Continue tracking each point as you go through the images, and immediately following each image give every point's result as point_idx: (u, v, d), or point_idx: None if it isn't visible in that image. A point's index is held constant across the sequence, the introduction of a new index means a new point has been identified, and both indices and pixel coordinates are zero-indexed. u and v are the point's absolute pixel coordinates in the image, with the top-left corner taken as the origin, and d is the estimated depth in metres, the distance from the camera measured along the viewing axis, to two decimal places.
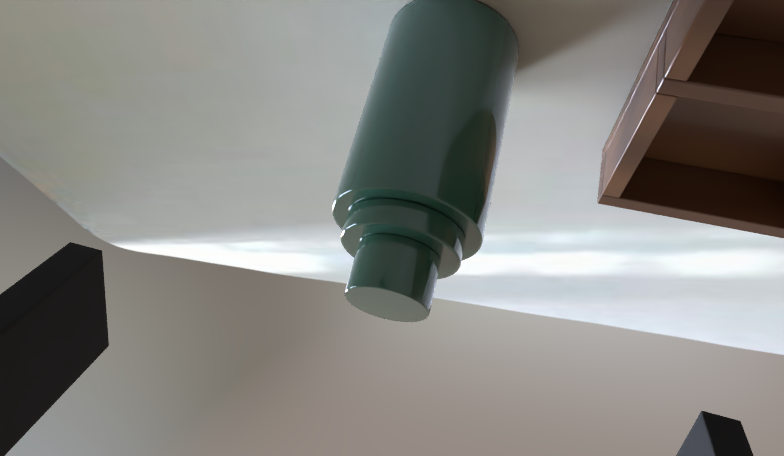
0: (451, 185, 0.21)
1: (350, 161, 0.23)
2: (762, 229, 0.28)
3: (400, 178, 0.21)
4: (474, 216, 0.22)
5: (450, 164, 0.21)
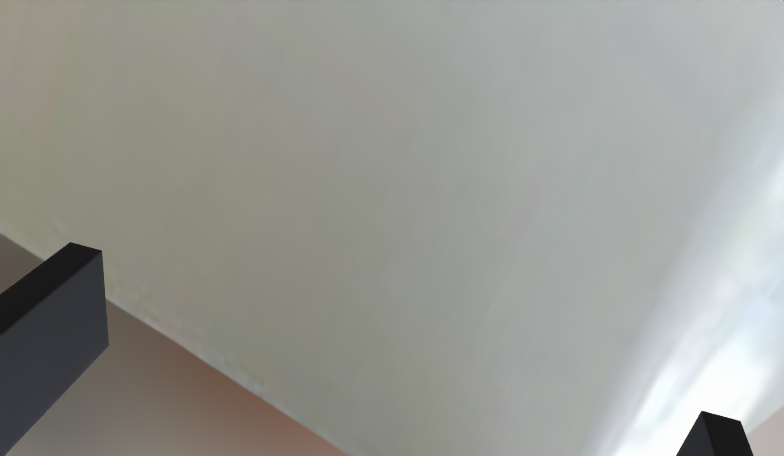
0: None
1: None
2: None
3: None
4: None
5: None
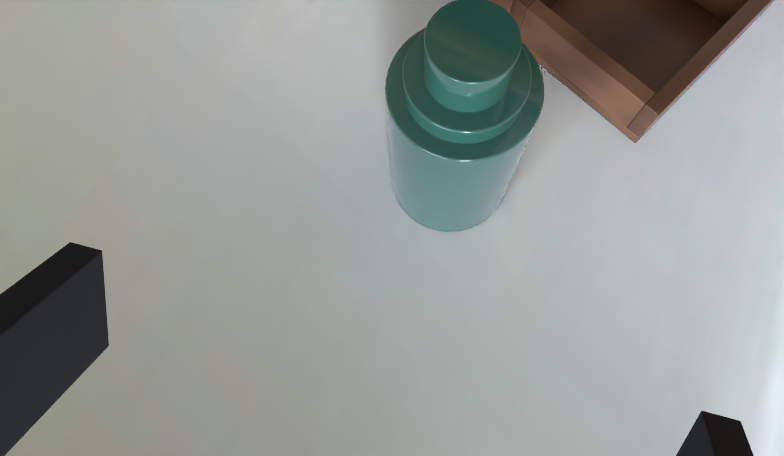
0: None
1: (388, 122, 0.24)
2: (748, 10, 0.30)
3: None
4: None
5: None
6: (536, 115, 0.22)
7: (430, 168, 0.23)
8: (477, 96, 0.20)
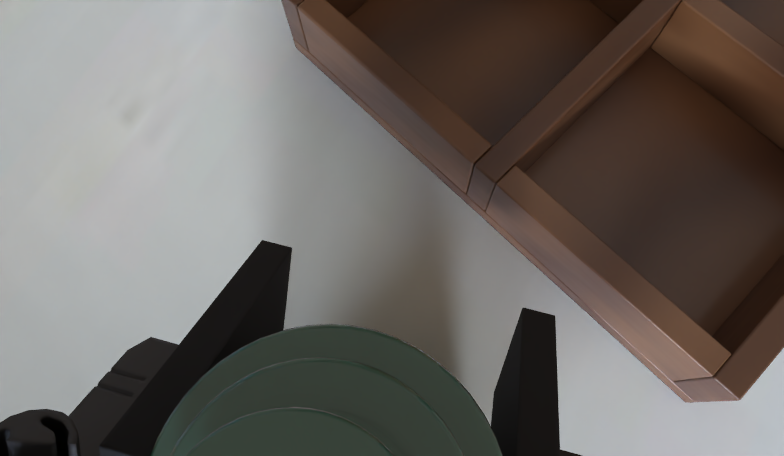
0: None
1: None
2: None
3: None
4: (368, 329, 0.10)
5: None
6: None
7: None
8: None
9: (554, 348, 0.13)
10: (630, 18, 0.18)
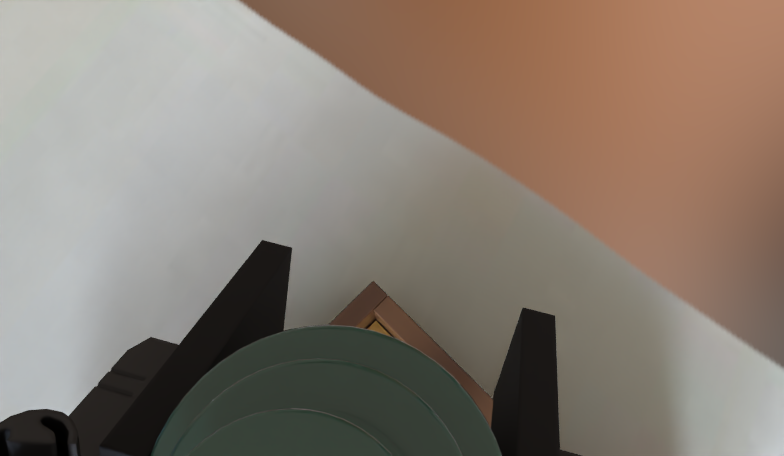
0: None
1: None
2: None
3: None
4: (368, 330, 0.10)
5: None
6: None
7: None
8: None
9: (554, 348, 0.13)
10: None
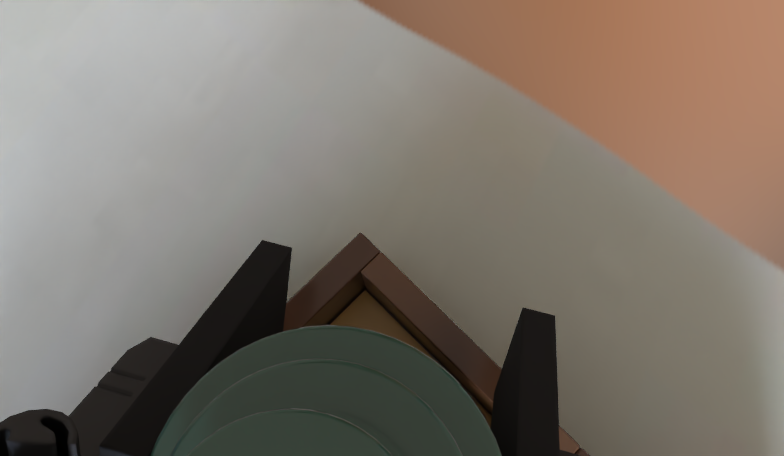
0: None
1: None
2: None
3: None
4: (367, 330, 0.10)
5: None
6: None
7: None
8: None
9: (554, 348, 0.13)
10: None
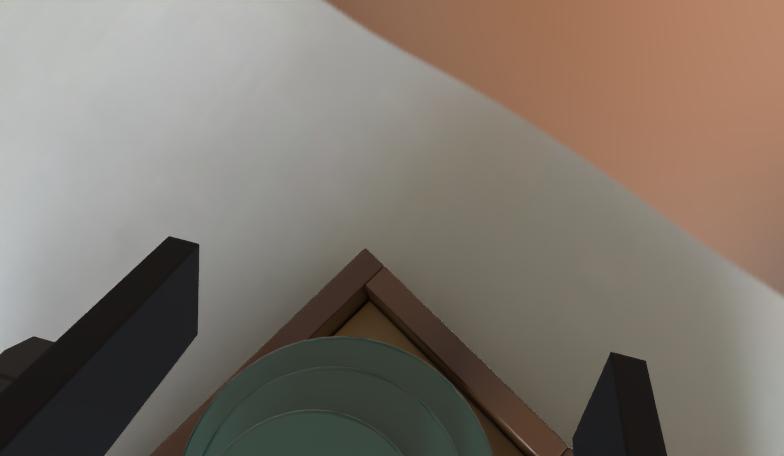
0: None
1: None
2: None
3: None
4: (375, 341, 0.12)
5: None
6: None
7: None
8: None
9: (652, 399, 0.13)
10: None
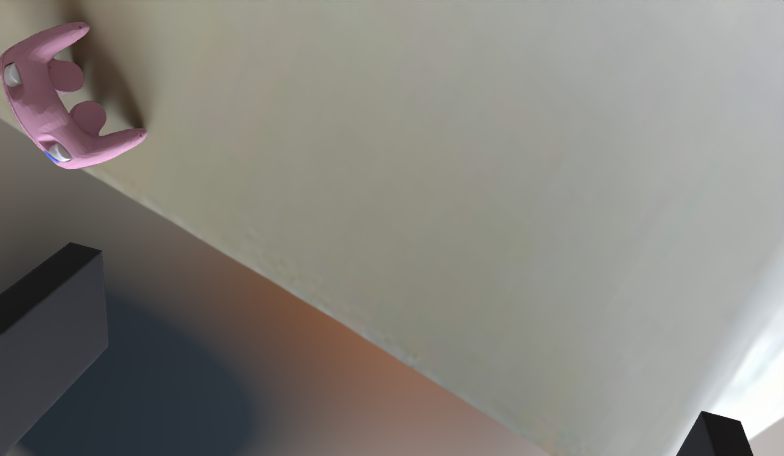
0: None
1: None
2: None
3: None
4: None
5: None
6: None
7: None
8: None
9: None
10: None
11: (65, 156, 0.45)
